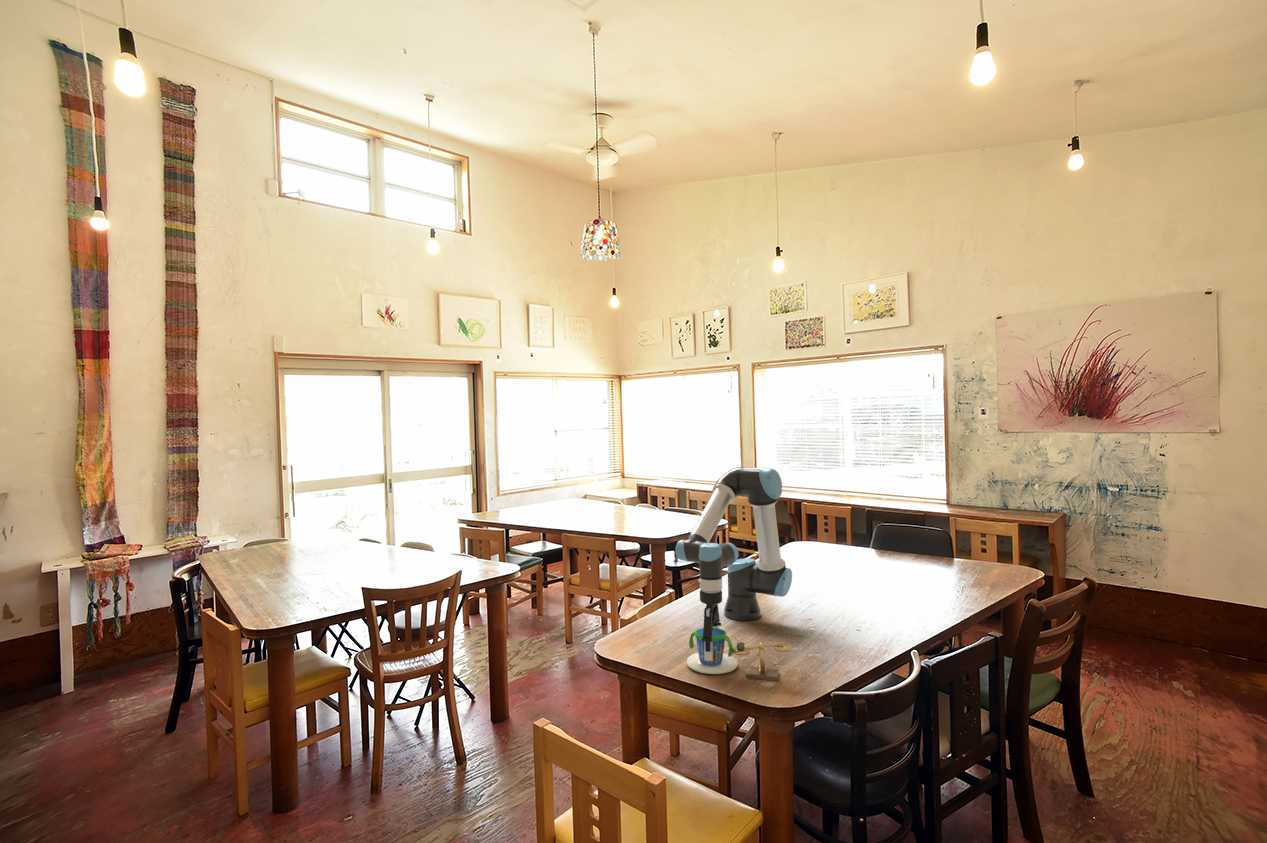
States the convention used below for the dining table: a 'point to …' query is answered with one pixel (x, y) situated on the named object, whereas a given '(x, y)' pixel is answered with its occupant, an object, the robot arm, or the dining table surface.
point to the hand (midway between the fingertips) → (711, 652)
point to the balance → (761, 659)
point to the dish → (725, 666)
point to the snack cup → (718, 645)
